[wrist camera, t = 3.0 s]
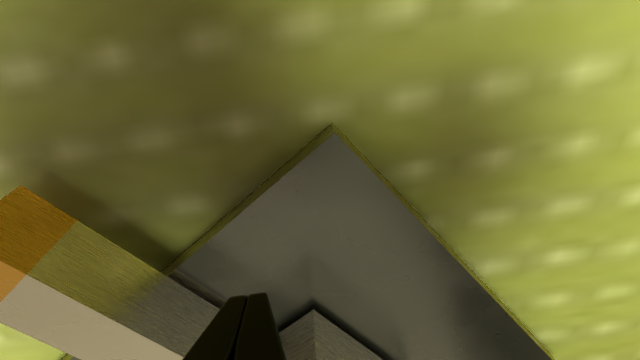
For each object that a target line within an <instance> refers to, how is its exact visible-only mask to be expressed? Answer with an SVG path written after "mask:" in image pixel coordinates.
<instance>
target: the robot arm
mask: <svg viewBox="0 0 640 360" xmlns="http://www.w3.org/2000/svg"><path fill="white" fill-rule="evenodd" d="M182 360H287V359H286V356H285V353H284V349H283V346H282V342H281V339H280V336H279V332H278V329H277V325H276V322H275V319H274V315H273V312H272V308H271V305H270V302H269V298H268V295H267V293H266V292H261V293H254V294H250V295H249V296H248V295H238V296H232V297H230V298H229V299H228V300H227V301H226V302H225V303H224V305H223V306H222V307H221V309H220V310H219V311H218V313H217V314H216V315H215V317H214V318H213V319H212V321H211V322H210V323H209V325H208V326H207V327H206V329H205V330H204V331H203V333H202V334H201V335H200V337H199V338H198V339H197V341H196V342H195V343H194V345H193V346H192V347H191V349H190V350H189V351H188V353H187V354H186V355H185V357H184V358H183V359H182Z"/></svg>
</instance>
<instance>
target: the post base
mask: <svg viewBox="0 0 640 360" xmlns="http://www.w3.org/2000/svg"><path fill="white" fill-rule="evenodd" d="M161 273H162V274H164V275H166V276H167V277H169V278H171V279H172V280H174V281H175V282H177V283H179V284H180V285H182V286H183V287H185V288H187V289H188V290H190V291H191V292H193V293H195V294H196V295H198V296H199V297H201V298H203V299H204V300H206V301H207V302H209V303H211V304H212V305H214V306H215V307H217V308H219V309H221V307H222V306H223V305H224V303H225V302H226V301H227V300H228V299H229V298H230V297H232V296H238V295H248V296H249V295H250V294H254V293H261V292H266V293H267V295H268V298H269V302H270V305H271V308H272V312H273V315H274V319H275V322H276V325H277V329H278V332H279V333H280V332H281V331H283V330H284V329H286V328H287V327H289V326H290V325H292V324H293V323H294V322H296V321H297V320H299V319H300V318H302V317H303V316H305V315H306V314H308V313H309V312H311V311H312V310H315V311H316V312H317V313H319V314H320V315H322V316H323V317H324V318H326V319H327V320H329V321H330V322H331V323H333V324H334V325H336V326H337V327H338V328H340V329H341V330H342V331H344V332H345V333H347V334H348V335H349V336H351V337H352V338H354V339H355V340H356V341H358V342H359V343H361V344H362V345H363V346H365V347H366V348H368V349H369V350H370V351H372V352H373V353H374V354H376V355H377V356H379V357H380V358H381V359H383V360H555V359H554V358H553V356H552V355H551V354H550V353H549V352H548V351H547V350H546V349H545V348H544V347H543V345H542V344H541V343H540V342H539V341H538V340H537V339H536V338H535V337H534V336H533V335H532V334H531V333H530V332H529V331H528V330H527V329H526V328H525V326H524V325H523V324H522V323H521V322H520V321H519V320H518V319H517V318H516V317H515V316H514V315H513V314H512V313H511V312H510V311H509V310H508V308H507V307H506V306H505V305H504V304H503V303H502V302H501V301H500V300H499V299H498V298H497V297H496V296H495V295H494V294H493V293H492V292H491V290H490V289H489V288H488V287H487V286H486V285H485V284H484V283H483V282H482V281H481V280H480V279H479V278H478V277H477V276H476V275H475V274H474V272H473V271H472V270H471V269H470V268H469V267H468V266H467V265H466V264H465V263H464V262H463V261H462V260H461V259H460V258H459V257H458V256H457V255H456V253H455V252H454V251H453V250H452V249H451V248H450V247H449V246H448V245H447V244H446V243H445V242H444V241H443V240H442V239H441V238H440V237H439V235H438V234H437V233H436V232H435V231H434V230H433V229H432V228H431V227H430V226H429V225H428V224H427V223H426V222H425V221H424V220H423V219H422V217H421V216H420V215H419V214H418V213H417V212H416V211H415V210H414V209H413V208H412V207H411V206H410V205H409V204H408V203H407V202H406V201H405V199H404V198H403V197H402V196H401V195H400V194H399V193H398V192H397V191H396V190H395V189H394V188H393V187H392V186H391V185H390V184H389V183H388V182H387V180H386V179H385V178H384V177H383V176H382V175H381V174H380V173H379V172H378V171H377V170H376V169H375V168H374V167H373V166H372V165H371V164H370V162H369V161H368V160H367V159H366V158H365V157H364V156H363V155H362V154H361V153H360V152H359V151H358V150H357V149H356V148H355V147H354V146H353V144H352V143H351V142H350V141H349V140H348V139H347V138H346V137H345V136H344V135H343V134H342V133H341V132H340V131H339V130H338V129H337V128H336V126H335V125H334V124H333V123H332V124H331V125H330V126H329V127H328V128H326V129H325V130H324V131H323V132H322V133H321V134H319V135H318V136H317V137H316V138H315V139H314V140H313V141H311V142H310V143H309V144H308V145H307V146H306V147H305V148H303V149H302V150H301V151H300V152H299V153H298V154H297V155H295V156H294V157H293V158H292V159H291V160H290V161H288V162H287V163H286V164H285V165H284V166H283V167H282V168H280V169H279V170H278V171H277V172H276V173H275V174H274V175H272V176H271V177H270V178H269V179H268V180H267V181H265V182H264V183H263V184H262V185H261V186H260V187H259V188H257V189H256V190H255V191H254V192H253V193H252V194H251V195H249V196H248V197H247V198H246V199H245V200H244V201H243V202H241V203H240V204H239V205H238V206H237V207H236V208H234V209H233V210H232V211H231V212H230V213H229V214H228V215H226V216H225V217H224V218H223V219H222V220H221V221H220V222H218V223H217V224H216V225H215V226H214V227H213V228H211V229H210V230H209V231H208V232H207V233H206V234H205V235H203V236H202V237H201V238H200V239H199V240H198V241H197V242H195V243H194V244H193V245H192V246H191V247H190V248H189V249H187V250H186V251H185V252H184V253H183V254H182V255H180V256H179V257H178V258H177V259H176V260H175V261H174V262H172V263H171V264H170V265H169V266H168V267H167V268H166V269H164V270H163V271H162V272H161ZM61 360H80V359H78V358H76V357H74V356H72V355H70V354H67V355H66V356H64V357H63V358H62V359H61Z"/></svg>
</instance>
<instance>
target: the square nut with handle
mask: <svg viewBox="0 0 640 360" xmlns="http://www.w3.org/2000/svg"><path fill="white" fill-rule="evenodd" d="M219 310H220V309H219V308H217V307H215V306H214V305H212V304H211V303H209V302H207V301H206V300H204V299H203V298H201V297H199V296H198V295H196V294H195V293H193V292H191V291H190V290H188V289H187V288H185V287H183V286H182V285H180V284H179V283H177V282H175V281H174V280H172V279H171V278H169V277H167V276H166V275H164V274H162V273H161V272H159V271H158V270H156V269H154V268H153V267H151V266H150V265H148V264H146V263H145V262H143V261H142V260H140V259H138V258H137V257H135V256H134V255H132V254H130V253H129V252H127V251H126V250H124V249H122V248H121V247H119V246H118V245H116V244H114V243H113V242H111V241H110V240H108V239H106V238H105V237H103V236H102V235H100V234H98V233H97V232H95V231H93V230H92V229H90V228H89V227H87V226H85V225H84V224H82V223H81V222H79V221H77V220H76V219H74V218H73V217H71V216H69V215H68V214H66V213H65V212H63V211H61V210H60V209H58V208H57V207H55V206H53V205H52V204H50V203H49V202H47V201H45V200H44V199H42V198H41V197H39V196H37V195H36V194H34V193H32V192H31V191H29V190H28V189H26V188H24V187H23V186H19V187H18V188H17V189H15V190H14V191H12V192H11V193H10V194H8V195H7V196H5V197H4V198H3V199H1V200H0V323H2V324H4V325H7V326H9V327H11V328H13V329H15V330H17V331H20V332H22V333H24V334H26V335H28V336H31V337H33V338H35V339H37V340H39V341H41V342H44V343H46V344H48V345H50V346H52V347H54V348H57V349H59V350H61V351H63V352H65V353H67V354H70V355H72V356H74V357H76V358H78V359H80V360H182V359H183V358H184V357H185V355H186V354H187V353H188V351H189V350H190V349H191V347H192V346H193V345H194V343H195V342H196V341H197V339H198V338H199V337H200V335H201V334H202V333H203V331H204V330H205V329H206V327H207V326H208V325H209V323H210V322H211V321H212V319H213V318H214V317H215V315H216V314H217V313H218V311H219ZM279 336H280V339H281V342H282V346H283V349H284V353H285V356H286V359H287V360H383V359H381V358H380V357H379V356H377V355H376V354H374V353H373V352H372V351H370V350H369V349H368V348H366V347H365V346H363V345H362V344H361V343H359V342H358V341H356V340H355V339H354V338H352V337H351V336H349V335H348V334H347V333H345V332H344V331H342V330H341V329H340V328H338V327H337V326H336V325H334V324H333V323H331V322H330V321H329V320H327V319H326V318H324V317H323V316H322V315H320V314H319V313H317V312H316V311H315V310H312V311H311V312H309V313H308V314H306V315H305V316H303V317H302V318H300V319H299V320H297V321H296V322H294V323H293V324H292V325H290V326H289V327H287V328H286V329H284V330H283V331H281V332H280V333H279Z"/></svg>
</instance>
